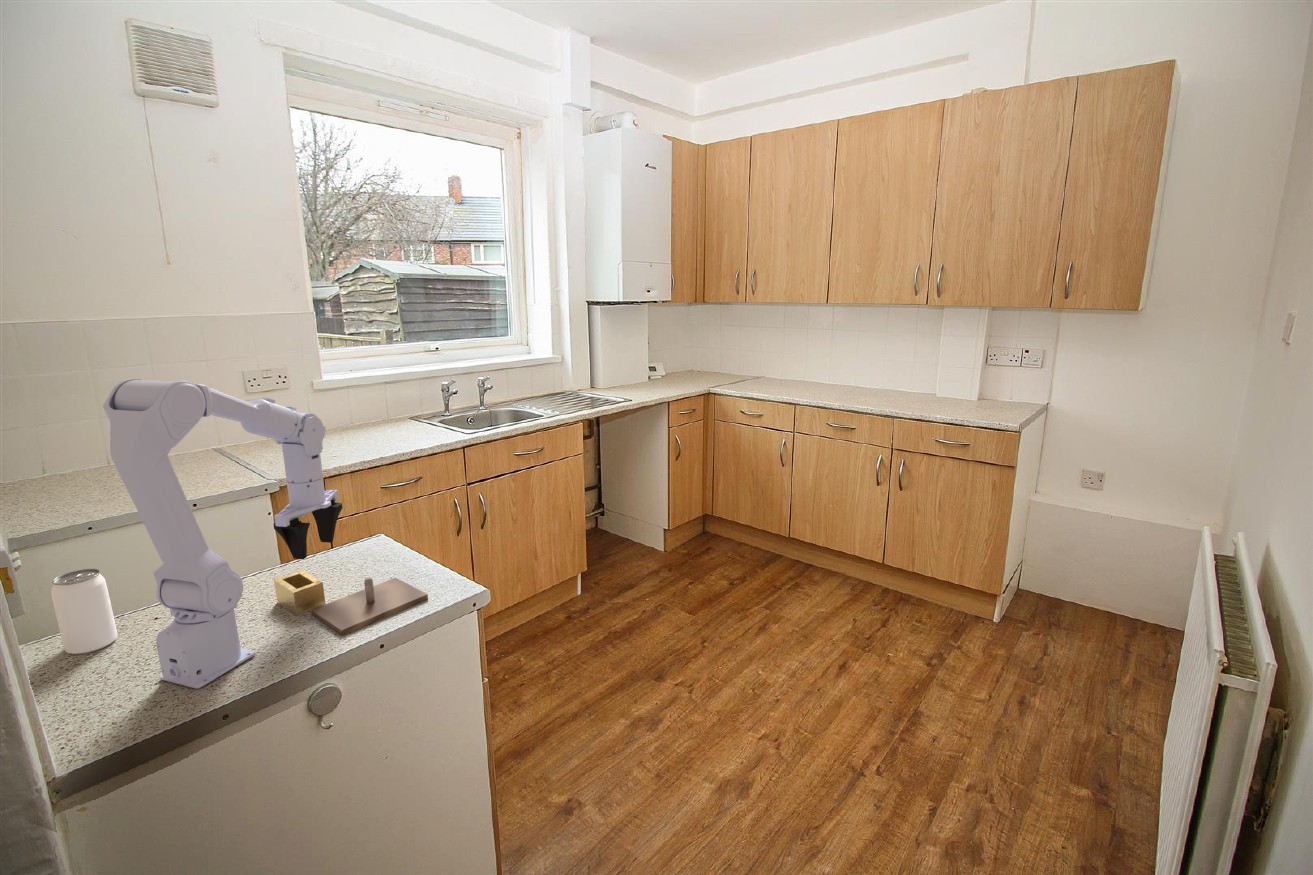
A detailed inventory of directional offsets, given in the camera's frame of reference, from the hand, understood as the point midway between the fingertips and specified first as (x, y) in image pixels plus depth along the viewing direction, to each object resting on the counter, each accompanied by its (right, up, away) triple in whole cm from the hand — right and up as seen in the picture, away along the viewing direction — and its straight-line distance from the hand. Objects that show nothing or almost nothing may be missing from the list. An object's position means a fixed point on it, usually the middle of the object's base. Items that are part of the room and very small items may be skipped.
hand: (313, 549), depth 115 cm
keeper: (+11, -10, -1) cm, 15 cm away
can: (-28, -13, -14) cm, 34 cm away
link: (-2, -10, 0) cm, 10 cm away
